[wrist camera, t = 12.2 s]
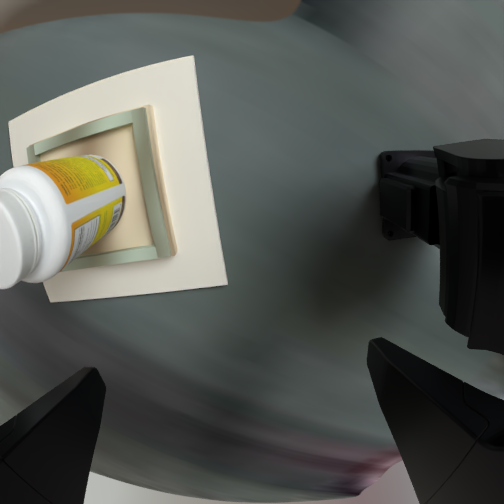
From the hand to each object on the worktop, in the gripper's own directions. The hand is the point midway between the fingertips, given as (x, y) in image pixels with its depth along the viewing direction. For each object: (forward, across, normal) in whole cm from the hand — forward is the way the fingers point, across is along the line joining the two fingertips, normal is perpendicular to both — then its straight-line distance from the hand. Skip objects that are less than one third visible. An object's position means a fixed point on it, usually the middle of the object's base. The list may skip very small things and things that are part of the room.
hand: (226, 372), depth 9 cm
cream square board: (+13, +9, -5) cm, 17 cm away
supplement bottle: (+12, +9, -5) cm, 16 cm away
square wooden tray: (+12, +9, -5) cm, 16 cm away
